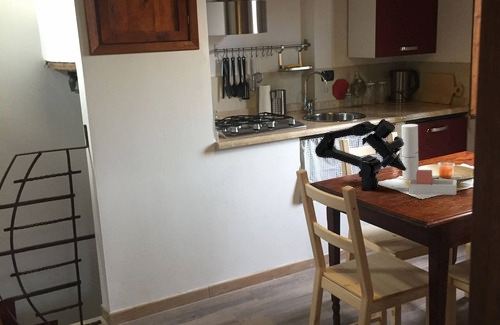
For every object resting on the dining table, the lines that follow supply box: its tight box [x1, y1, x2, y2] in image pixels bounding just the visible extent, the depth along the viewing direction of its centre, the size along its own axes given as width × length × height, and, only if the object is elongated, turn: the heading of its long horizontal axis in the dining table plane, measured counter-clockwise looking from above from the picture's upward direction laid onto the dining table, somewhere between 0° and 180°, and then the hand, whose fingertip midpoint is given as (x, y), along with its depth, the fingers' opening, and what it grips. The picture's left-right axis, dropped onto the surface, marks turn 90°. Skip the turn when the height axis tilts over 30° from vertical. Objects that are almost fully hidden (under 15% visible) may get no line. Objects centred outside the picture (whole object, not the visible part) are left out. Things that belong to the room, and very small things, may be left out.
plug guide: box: [408, 178, 458, 196], centre depth 221 cm, size 19×9×4 cm, turn 68°
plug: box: [416, 169, 433, 184], centre depth 222 cm, size 6×6×8 cm
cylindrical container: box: [401, 123, 419, 181], centre depth 240 cm, size 7×7×25 cm
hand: (405, 170), depth 223 cm, fingers closed
